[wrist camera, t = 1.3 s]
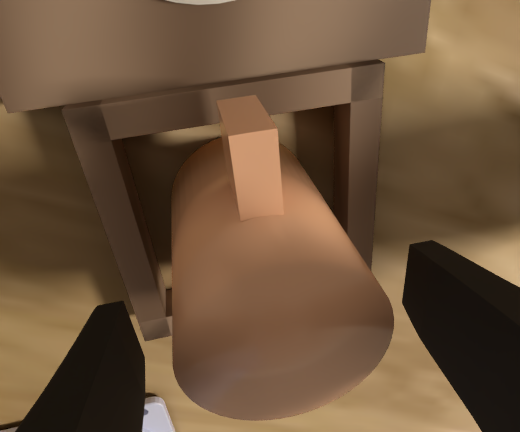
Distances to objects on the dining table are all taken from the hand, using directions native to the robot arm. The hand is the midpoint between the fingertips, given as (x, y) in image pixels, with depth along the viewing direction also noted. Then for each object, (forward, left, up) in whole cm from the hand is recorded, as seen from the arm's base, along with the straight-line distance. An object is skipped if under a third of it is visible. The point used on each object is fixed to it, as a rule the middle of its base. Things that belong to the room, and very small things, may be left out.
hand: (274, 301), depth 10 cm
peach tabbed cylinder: (0, 0, -6) cm, 6 cm away
